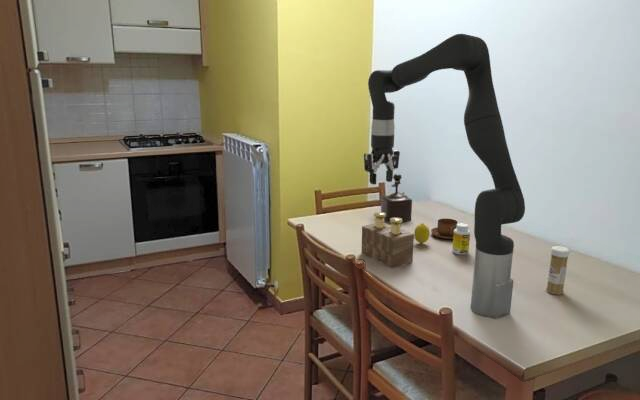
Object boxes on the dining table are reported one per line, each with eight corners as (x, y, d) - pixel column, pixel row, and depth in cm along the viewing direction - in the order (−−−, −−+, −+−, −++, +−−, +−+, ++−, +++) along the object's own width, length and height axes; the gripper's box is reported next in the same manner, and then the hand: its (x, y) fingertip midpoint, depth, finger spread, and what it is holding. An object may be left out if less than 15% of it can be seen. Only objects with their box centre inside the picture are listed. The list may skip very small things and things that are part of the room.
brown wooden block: (412, 262, 165) (414, 233, 162) (392, 267, 160) (393, 238, 157) (380, 248, 177) (381, 221, 175) (361, 253, 172) (362, 226, 170)
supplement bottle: (461, 256, 170) (463, 228, 167) (448, 251, 174) (450, 224, 172) (471, 253, 173) (474, 225, 170) (459, 248, 177) (461, 221, 175)
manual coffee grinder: (413, 220, 210) (415, 179, 206) (389, 222, 207) (390, 181, 203) (398, 211, 225) (400, 172, 220) (375, 212, 222) (377, 173, 217)
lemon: (411, 245, 181) (412, 224, 179) (416, 240, 185) (417, 220, 183) (426, 247, 178) (427, 226, 176) (430, 242, 183) (432, 222, 181)
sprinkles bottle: (542, 290, 143) (548, 246, 140) (554, 287, 145) (559, 244, 142) (555, 296, 139) (561, 252, 136) (567, 293, 141) (573, 249, 138)
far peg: (387, 241, 170) (388, 214, 167) (378, 243, 168) (379, 215, 165) (379, 238, 173) (380, 211, 171) (371, 240, 171) (371, 213, 168)
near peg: (403, 247, 164) (404, 219, 161) (394, 250, 161) (395, 221, 159) (395, 244, 167) (396, 216, 164) (386, 246, 165) (387, 218, 162)
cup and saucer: (469, 239, 188) (470, 223, 186) (442, 243, 183) (443, 227, 182) (450, 230, 198) (451, 215, 197) (424, 233, 194) (425, 218, 193)
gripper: (373, 135, 154) (372, 187, 158) (406, 132, 162) (404, 182, 166) (358, 133, 160) (357, 183, 164) (391, 130, 168) (389, 178, 172)
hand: (381, 182), depth 165 cm, fingers open, 6 cm apart
